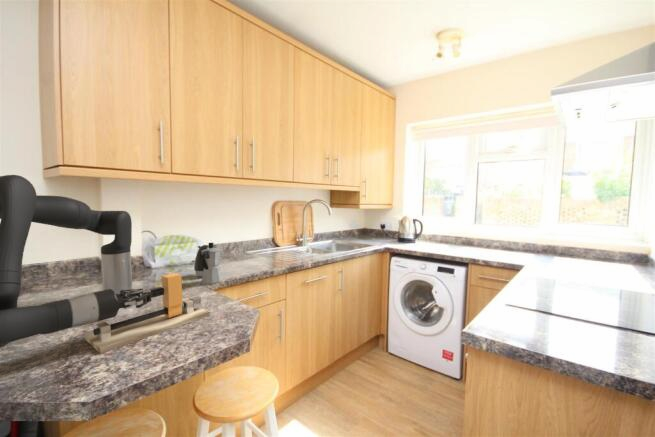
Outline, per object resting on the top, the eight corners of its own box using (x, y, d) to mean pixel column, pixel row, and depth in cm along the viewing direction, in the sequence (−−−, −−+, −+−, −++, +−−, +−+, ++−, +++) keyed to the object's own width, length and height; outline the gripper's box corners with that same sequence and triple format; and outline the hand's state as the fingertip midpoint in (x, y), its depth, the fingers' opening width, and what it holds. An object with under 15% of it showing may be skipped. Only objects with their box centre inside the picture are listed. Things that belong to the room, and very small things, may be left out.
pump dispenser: (209, 272, 151) (208, 242, 150) (221, 275, 145) (220, 244, 144) (189, 276, 143) (188, 245, 142) (201, 279, 137) (200, 247, 136)
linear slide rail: (85, 339, 79) (84, 321, 78) (190, 307, 102) (189, 293, 102) (100, 353, 72) (99, 333, 71) (209, 315, 95) (209, 300, 94)
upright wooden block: (163, 314, 91) (161, 275, 90) (176, 310, 94) (174, 273, 93) (169, 317, 88) (167, 277, 88) (182, 313, 92) (181, 274, 91)
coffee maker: (208, 278, 140) (207, 240, 139) (227, 278, 140) (226, 240, 138) (193, 287, 125) (192, 245, 124) (213, 287, 125) (212, 245, 123)
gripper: (100, 298, 70) (173, 282, 84) (83, 288, 78) (152, 275, 92) (101, 328, 71) (174, 307, 85) (84, 316, 79) (153, 298, 93)
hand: (163, 290), depth 89 cm, fingers closed
